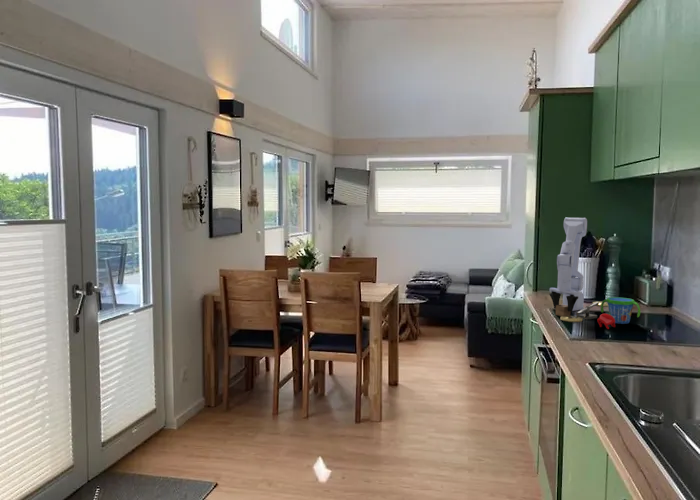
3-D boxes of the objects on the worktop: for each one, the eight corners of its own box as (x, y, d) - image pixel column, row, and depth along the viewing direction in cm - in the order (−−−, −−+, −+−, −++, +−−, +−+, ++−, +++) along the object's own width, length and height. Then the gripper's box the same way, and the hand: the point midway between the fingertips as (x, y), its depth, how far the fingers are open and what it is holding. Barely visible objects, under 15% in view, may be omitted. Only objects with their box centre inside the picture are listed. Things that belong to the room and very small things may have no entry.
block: (562, 314, 257) (562, 304, 257) (570, 315, 253) (570, 306, 253) (555, 314, 255) (555, 305, 254) (563, 316, 251) (564, 306, 250)
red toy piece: (605, 322, 224) (617, 314, 224) (594, 315, 229) (606, 307, 229) (608, 335, 228) (620, 328, 228) (597, 328, 233) (609, 320, 234)
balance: (600, 312, 260) (600, 298, 259) (617, 316, 252) (618, 302, 251) (555, 319, 245) (556, 304, 244) (572, 323, 237) (573, 307, 237)
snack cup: (595, 320, 242) (596, 297, 241) (607, 317, 249) (608, 295, 248) (632, 327, 230) (633, 303, 229) (643, 324, 237) (645, 300, 236)
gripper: (545, 278, 257) (544, 307, 258) (571, 282, 244) (570, 313, 245) (556, 277, 260) (554, 306, 261) (582, 281, 248) (581, 312, 249)
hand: (563, 309), depth 254 cm, fingers open, 7 cm apart
